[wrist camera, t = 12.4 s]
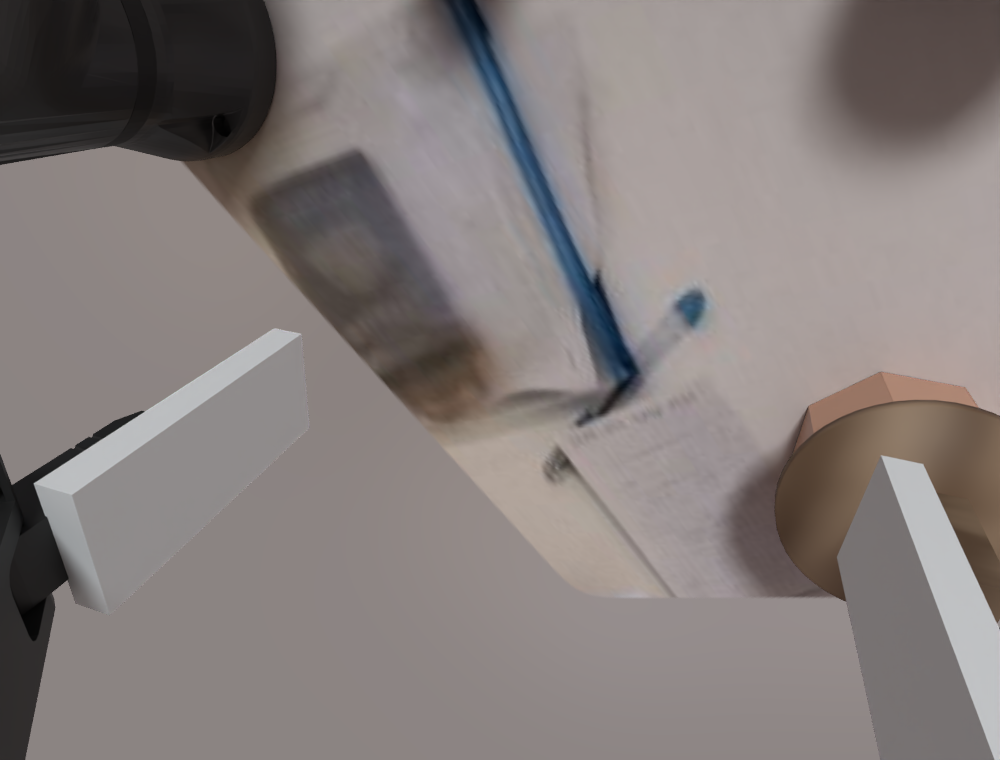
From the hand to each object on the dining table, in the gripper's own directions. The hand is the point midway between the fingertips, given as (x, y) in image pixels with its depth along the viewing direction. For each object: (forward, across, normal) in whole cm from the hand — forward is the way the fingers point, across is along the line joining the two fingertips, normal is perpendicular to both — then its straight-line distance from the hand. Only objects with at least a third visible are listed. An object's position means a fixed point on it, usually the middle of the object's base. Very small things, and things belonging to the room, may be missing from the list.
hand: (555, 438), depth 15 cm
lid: (+22, +17, -14) cm, 31 cm away
